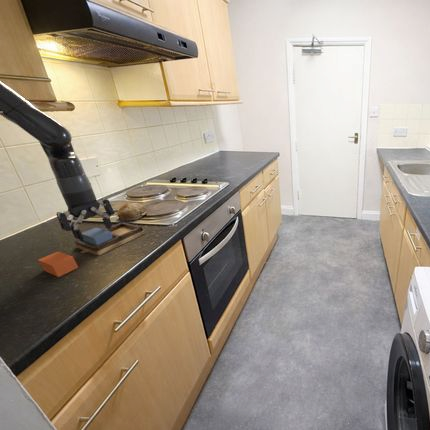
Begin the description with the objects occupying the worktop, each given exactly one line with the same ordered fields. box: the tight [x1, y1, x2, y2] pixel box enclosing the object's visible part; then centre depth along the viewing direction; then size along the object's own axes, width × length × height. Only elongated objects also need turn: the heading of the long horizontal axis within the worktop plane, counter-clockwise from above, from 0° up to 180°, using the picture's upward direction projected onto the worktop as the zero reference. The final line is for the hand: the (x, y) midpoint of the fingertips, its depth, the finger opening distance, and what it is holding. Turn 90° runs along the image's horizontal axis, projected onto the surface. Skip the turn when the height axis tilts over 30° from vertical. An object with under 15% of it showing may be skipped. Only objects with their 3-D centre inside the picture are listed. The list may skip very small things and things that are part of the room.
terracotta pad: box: [37, 251, 79, 278], centre depth 80 cm, size 5×8×4 cm, turn 66°
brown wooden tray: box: [74, 221, 146, 256], centre depth 95 cm, size 16×13×3 cm
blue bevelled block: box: [81, 227, 113, 246], centre depth 91 cm, size 5×8×4 cm, turn 66°
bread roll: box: [116, 202, 148, 222], centre depth 113 cm, size 10×10×8 cm
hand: (95, 233), depth 91 cm, fingers open, 8 cm apart
